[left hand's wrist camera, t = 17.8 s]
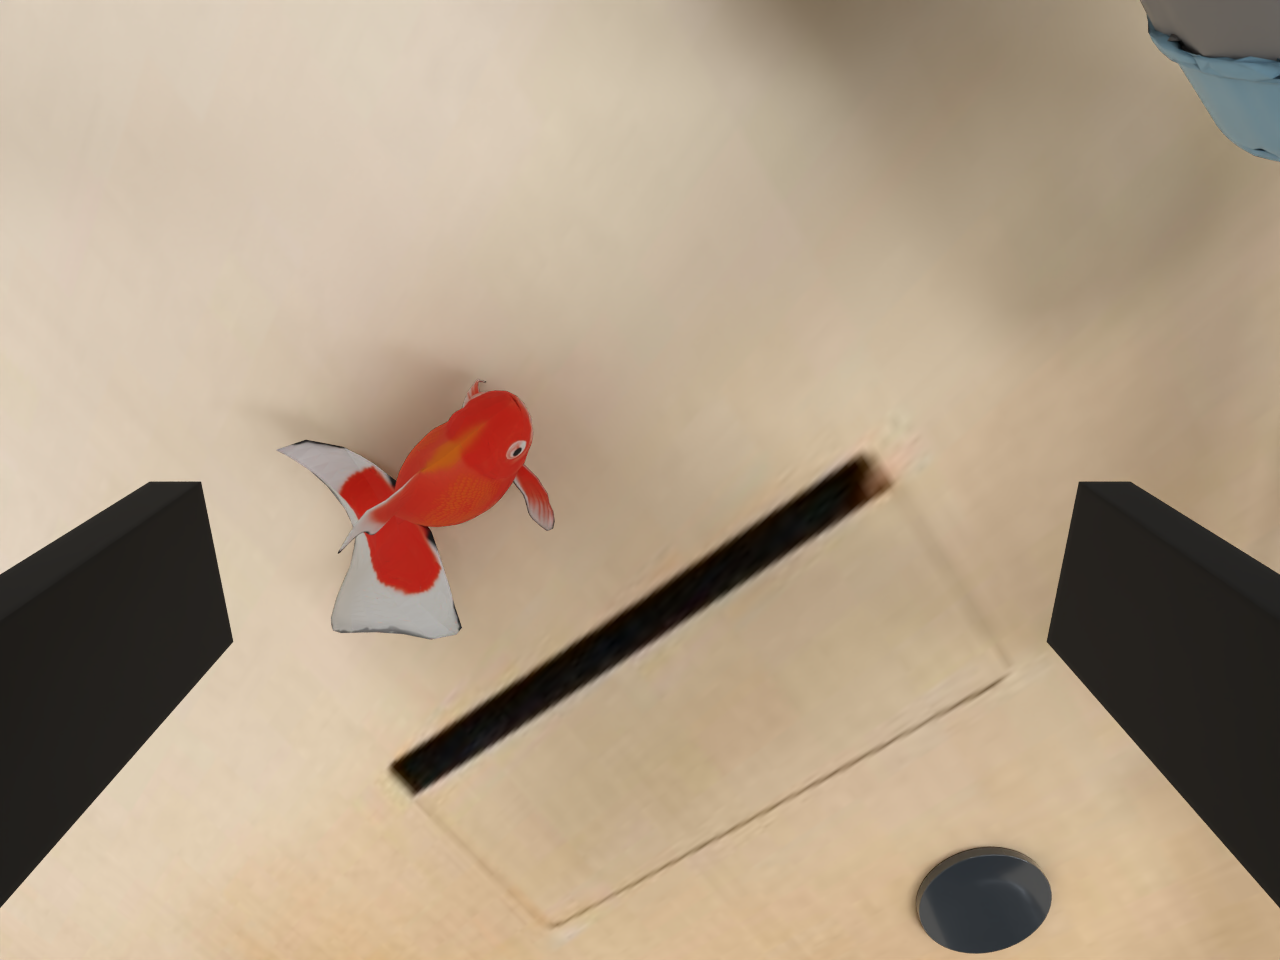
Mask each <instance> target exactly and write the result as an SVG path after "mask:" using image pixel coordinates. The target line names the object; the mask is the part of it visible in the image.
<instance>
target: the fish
mask: <svg viewBox="0 0 1280 960" xmlns="http://www.w3.org/2000/svg"><path fill="white" fill-rule="evenodd" d="M478 382H485V383H486V381H483V380H480V379H477V380H476V382H475V383H474V384H473V385H472V387H471V388H470V389H469V391H468V393H467V395H466V398H465V400H464V403H463V406H462V409H460V410H458V411H456V412H455V413H454V414H453V415H452V416H451V418H450V419H449V421H448V422H446V423H444V424H442V425H440V426H438V427H436V428H435V429H433V430H432V431H430V432H429V433H428V434H427V435H426V436H425V437H424V438H423V439H422V440H421V441H420V442H419V443H418V444H417V445H416V446H415V447H414V448H413V450H412V451H411V452H410V454H409V455H408V457H407V458H406V460H405V462H404V464H403V465H402V467H401V469H400V472H399V474H398V478H397V481H395V480H394V479H393V478H392V477H390V476H389V475H388V474H387V473H385V472H384V471H383V470H381V469H380V468H379V467H378V466H376V465H375V464H374V463H372V462H370V461H369V460H367V459H365V458H364V457H362V456H360V455H358V454H356V453H354V452H352V451H350V450H348V449H346V448H344V447H341V446H336V445H330V444H325V443H320V442H315V441H309V440H304V441H301V442H298V443H295V444H292V445H289V446H286V447H283V448H280V449H277V451H279V452H281V453H283V454H285V455H287V456H288V457H290V458H292V459H293V460H295V461H297V462H298V463H300V464H301V465H303V466H304V467H306V468H307V469H309V470H310V471H311V472H312V473H313V474H315V475H316V476H317V477H318V478H319V479H320V480H321V481H322V482H323V483H324V484H326V485H327V486H328V488H329V489H330V490H331V491H332V493H333V494H334V495H335V497H336V498H337V499H338V500H339V502H340V503H341V504H342V505H343V507H344V508H345V510H346V512H347V514H348V516H349V518H350V520H351V522H352V525H353V528H352V530H351V531H350V533H349V535H348V537H347V538H346V540H345V542H344V543H343V545H342V547H341V548H340V550H339V552H338V553H340V552H341V551H342V550H343V549H344V548H345V547H346V546H347V545H348V544H349V543H350V542H351V541H352V540H353V539H354V538H355V537H356V538H355V545H354V550H353V555H352V560H351V565H350V567H349V570H348V572H347V574H346V576H345V579H344V581H343V583H342V586H341V588H340V590H339V593H338V595H337V598H336V602H335V605H334V609H333V612H332V616H331V625H332V628H333V631H337V632H340V633H358V632H381V633H396V634H406V635H411V636H416V637H421V638H426V639H436V638H441V637H446V636H451V635H456V634H457V633H458V632H459V631H460V629H461V628H462V627H461V624H460V621H459V618H458V615H457V612H456V609H455V605H454V602H453V598H452V594H451V590H450V586H449V583H448V580H447V577H446V574H445V571H444V567H443V565H442V562H441V559H440V556H439V553H438V550H437V547H436V544H435V541H434V538H433V535H432V532H431V530H430V529H429V528H428V526H430V527H441V526H450V525H456V524H460V523H463V522H466V521H468V520H471V519H473V518H475V517H476V516H478V515H480V514H482V513H483V512H485V511H487V510H489V509H490V508H491V507H492V506H494V505H495V504H496V503H497V502H498V501H499V500H500V499H501V497H502V496H503V495H504V494H505V492H506V491H507V490H508V488H509V487H510V485H511V484H512V482H514V483H515V485H516V486H517V487H518V489H519V490H520V491H521V493H522V494H523V496H524V498H525V501H526V505H527V509H528V513H529V515H530V516H531V518H532V519H533V520H534V521H535V522H536V523H538V524H539V525H540V526H541V527H542V528H544V529H545V530H551V529H553V526H554V514H553V510H552V508H551V505H550V503H549V498H548V494H547V492H546V490H545V489H544V487H543V486H542V484H541V482H540V481H539V479H538V478H537V477H536V476H535V475H534V474H533V473H532V472H531V471H530V470H529V469H528V468H527V467H526V466H525V465H524V462H525V459H526V456H527V453H528V450H529V448H530V446H531V443H532V438H533V428H532V420H531V416H530V414H529V412H528V410H527V408H526V406H525V404H524V403H523V402H522V401H521V400H520V399H519V398H518V397H517V396H516V395H514V394H512V393H510V392H508V391H487V392H480V391H479V388H478Z"/></svg>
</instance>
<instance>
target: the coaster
mask: <svg viewBox="0 0 1280 960" xmlns="http://www.w3.org/2000/svg"><path fill="white" fill-rule="evenodd" d="M1051 900H1052V894H1051V888H1050V884H1049V882H1048V880H1047V878H1046V876H1045V874H1044V873H1043V871H1042V870H1041V868H1040V867H1039V866H1038V865H1037V864H1036V863H1035V862H1034V861H1033V860H1032V859H1030V858H1029V857H1027V856H1025V855H1024V854H1022V853H1019V852H1017V851H1014V850H1010V849H1005V848H997V847H986V848H977V849H972V850H968V851H964V852H961V853H959V854H956V855H954V856H952V857H950V858H948V859H946V860H945V861H943V862H941V863H940V864H939V865H937V866H936V867H935V868H934V869H933V870H932V871H931V872H930V873H929V874H928V875H927V876H926V878H925V879H924V881H923V882H922V884H921V886H920V888H919V891H918V895H917V901H916V907H917V913H918V916H919V919H920V922H921V924H922V926H923V928H924V930H925V931H926V933H927V934H928V935H929V936H930V937H931V938H932V939H933V940H934V941H935V942H937V943H938V944H940V945H942V946H944V947H946V948H948V949H951V950H954V951H958V952H963V953H975V954H977V953H989V952H994V951H999V950H1002V949H1005V948H1008V947H1011V946H1013V945H1015V944H1017V943H1019V942H1021V941H1023V940H1024V939H1026V938H1027V937H1028V936H1030V935H1031V934H1032V933H1033V932H1034V931H1036V930H1037V929H1038V927H1039V926H1040V925H1041V924H1042V923H1043V921H1044V920H1045V918H1046V916H1047V914H1048V912H1049V909H1050V906H1051Z"/></svg>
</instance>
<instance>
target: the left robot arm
mask: <svg viewBox="0 0 1280 960" xmlns="http://www.w3.org/2000/svg"><path fill="white" fill-rule="evenodd" d="M1140 1H1141V3H1142V5H1143V7H1144V9H1145V11H1146V13H1147V19H1148V32H1149V34H1150V36H1151V39H1152V41H1153V42H1154V44H1155V45H1156V46H1157V48H1158V49H1159V50H1160V51H1161V52H1162V53H1163V54H1164V55H1166V56H1167V57H1168V58H1169V59H1170V60H1172V61H1174V62H1176V63H1178V64H1179V65H1180V67H1181V69H1182V70H1183V72H1184V73H1185V75H1186V77H1187V78H1188V80H1189V82H1190V83H1191V85H1192V86H1193V88H1194V90H1195V91H1196V93H1197V94H1198V96H1199V98H1200V99H1201V101H1202V102H1203V104H1204V106H1205V107H1206V109H1207V111H1208V112H1209V114H1210V115H1211V117H1212V119H1213V120H1214V122H1215V123H1216V125H1217V126H1218V128H1219V129H1220V130H1221V131H1222V133H1223V134H1224V135H1225V136H1226V137H1227V138H1228V139H1229V140H1230V141H1232V142H1233V143H1234V144H1236V145H1237V146H1238V147H1240V148H1242V149H1243V150H1245V151H1247V152H1249V153H1250V154H1252V155H1254V156H1258V157H1262V158H1265V159H1269V160H1274V161H1279V162H1280V0H1140ZM232 643H233V638H232V633H231V628H230V623H229V618H228V613H227V608H226V603H225V598H224V593H223V588H222V583H221V579H220V574H219V569H218V564H217V559H216V554H215V549H214V544H213V539H212V534H211V529H210V524H209V519H208V514H207V509H206V504H205V499H204V494H203V489H202V484H201V482H148V483H147V484H145V485H144V486H142V487H140V488H139V489H137V490H136V491H134V492H132V493H131V494H129V495H128V496H126V497H124V498H123V499H121V500H120V501H118V502H116V503H115V504H113V505H111V506H110V507H108V508H107V509H105V510H103V511H102V512H100V513H99V514H97V515H95V516H94V517H92V518H91V519H89V520H87V521H86V522H84V523H83V524H81V525H79V526H78V527H76V528H74V529H73V530H71V531H70V532H68V533H66V534H65V535H63V536H62V537H60V538H58V539H57V540H55V541H54V542H52V543H50V544H49V545H47V546H46V547H44V548H42V549H41V550H39V551H37V552H36V553H34V554H33V555H31V556H29V557H28V558H26V559H25V560H23V561H21V562H20V563H18V564H17V565H15V566H13V567H12V568H10V569H9V570H7V571H5V572H4V573H2V574H0V908H1V906H2V905H3V904H4V903H5V902H6V901H7V900H8V898H9V897H10V896H11V895H12V894H13V893H14V892H15V890H16V889H17V888H18V887H19V886H20V885H21V884H22V882H23V881H24V880H25V879H26V878H27V877H28V876H29V874H30V873H31V872H32V871H33V870H34V869H35V868H36V866H37V865H38V864H39V863H40V862H41V861H42V860H43V858H44V857H45V856H46V855H47V854H48V853H49V852H50V850H51V849H52V848H53V847H54V846H55V845H56V844H57V842H58V841H59V840H60V839H61V838H62V837H63V836H64V834H65V833H66V832H67V831H68V830H69V829H70V828H71V826H72V825H73V824H74V823H75V822H76V821H77V820H78V818H79V817H80V816H81V815H82V814H83V813H84V812H85V810H86V809H87V808H88V807H89V806H90V805H91V804H92V802H93V801H94V800H95V799H96V798H97V797H98V796H99V794H100V793H101V792H102V791H103V790H104V789H105V788H106V786H107V785H108V784H109V783H110V782H111V781H112V780H113V778H114V777H115V776H116V775H117V774H118V773H119V772H120V770H121V769H122V768H123V767H124V766H125V765H126V764H127V762H128V761H129V760H130V759H131V758H132V757H133V756H134V754H135V753H136V752H137V751H138V750H139V749H140V748H141V746H142V745H143V744H144V743H145V742H146V741H147V740H148V738H149V737H150V736H151V735H152V734H153V733H154V732H155V730H156V729H157V728H158V727H159V726H160V725H161V724H162V723H163V721H164V720H165V719H166V718H167V717H168V716H169V715H170V713H171V712H172V711H173V710H174V709H175V708H176V707H177V705H178V704H179V703H180V702H181V701H182V700H183V699H184V697H185V696H186V695H187V694H188V693H189V692H190V691H191V689H192V688H193V687H194V686H195V685H196V684H197V683H198V681H199V680H200V679H201V678H202V677H203V676H204V675H205V673H206V672H207V671H208V670H209V669H210V668H211V667H212V665H213V664H214V663H215V662H216V661H217V660H218V659H219V657H220V656H221V655H222V654H223V653H224V652H225V651H226V649H227V648H228V647H229V646H230V645H231V644H232ZM1047 643H1048V644H1049V645H1050V646H1051V647H1052V648H1053V649H1054V651H1055V652H1056V653H1057V654H1058V655H1059V656H1060V657H1061V659H1062V660H1063V661H1064V662H1065V663H1066V664H1067V665H1068V667H1069V668H1070V669H1071V670H1072V671H1073V672H1074V673H1075V675H1076V676H1077V677H1078V678H1079V679H1080V680H1081V681H1082V683H1083V684H1084V685H1085V686H1086V687H1087V688H1088V689H1089V691H1090V692H1091V693H1092V694H1093V695H1094V696H1095V697H1096V699H1097V700H1098V701H1099V702H1100V703H1101V704H1102V705H1103V707H1104V708H1105V709H1106V710H1107V711H1108V712H1109V713H1110V715H1111V716H1112V717H1113V718H1114V719H1115V720H1116V721H1117V723H1118V724H1119V725H1120V726H1121V727H1122V728H1123V729H1124V731H1125V732H1126V733H1127V734H1128V735H1129V736H1130V737H1131V738H1132V740H1133V741H1134V742H1135V743H1136V744H1137V745H1138V746H1139V748H1140V749H1141V750H1142V751H1143V752H1144V753H1145V754H1146V756H1147V757H1148V758H1149V759H1150V760H1151V761H1152V762H1153V764H1154V765H1155V766H1156V767H1157V768H1158V769H1159V770H1160V772H1161V773H1162V774H1163V775H1164V776H1165V777H1166V778H1167V780H1168V781H1169V782H1170V783H1171V784H1172V785H1173V786H1174V788H1175V789H1176V790H1177V791H1178V792H1179V793H1180V794H1181V796H1182V797H1183V798H1184V799H1185V800H1186V801H1187V802H1188V804H1189V805H1190V806H1191V807H1192V808H1193V809H1194V810H1195V812H1196V813H1197V814H1198V815H1199V816H1200V817H1201V818H1202V820H1203V821H1204V822H1205V823H1206V824H1207V825H1208V826H1209V828H1210V829H1211V830H1212V831H1213V832H1214V833H1215V834H1216V836H1217V837H1218V838H1219V839H1220V840H1221V841H1222V842H1223V844H1224V845H1225V846H1226V847H1227V848H1228V849H1229V850H1230V852H1231V853H1232V854H1233V855H1234V856H1235V857H1236V858H1237V860H1238V861H1239V862H1240V863H1241V864H1242V865H1243V866H1244V868H1245V869H1246V870H1247V871H1248V872H1249V873H1250V874H1251V876H1252V877H1253V878H1254V879H1255V880H1256V881H1257V882H1258V884H1259V885H1260V886H1261V887H1262V888H1263V889H1264V890H1265V892H1266V893H1267V894H1268V895H1269V896H1270V897H1271V898H1272V900H1273V901H1274V902H1275V903H1276V904H1277V905H1278V906H1279V908H1280V574H1278V573H1276V572H1275V571H1273V570H1271V569H1270V568H1268V567H1267V566H1265V565H1263V564H1262V563H1260V562H1259V561H1257V560H1255V559H1254V558H1252V557H1251V556H1249V555H1247V554H1246V553H1244V552H1243V551H1241V550H1239V549H1238V548H1236V547H1234V546H1233V545H1231V544H1230V543H1228V542H1226V541H1225V540H1223V539H1222V538H1220V537H1218V536H1217V535H1215V534H1214V533H1212V532H1210V531H1209V530H1207V529H1206V528H1204V527H1202V526H1201V525H1199V524H1197V523H1196V522H1194V521H1193V520H1191V519H1189V518H1188V517H1186V516H1185V515H1183V514H1181V513H1180V512H1178V511H1177V510H1175V509H1173V508H1172V507H1170V506H1169V505H1167V504H1165V503H1164V502H1162V501H1160V500H1159V499H1157V498H1156V497H1154V496H1152V495H1151V494H1149V493H1148V492H1146V491H1144V490H1143V489H1141V488H1140V487H1138V486H1136V485H1135V484H1133V483H1132V482H1079V484H1078V489H1077V494H1076V499H1075V504H1074V509H1073V514H1072V519H1071V524H1070V529H1069V534H1068V539H1067V544H1066V549H1065V554H1064V559H1063V564H1062V569H1061V574H1060V579H1059V583H1058V588H1057V593H1056V598H1055V603H1054V608H1053V613H1052V618H1051V623H1050V628H1049V633H1048V638H1047Z"/></svg>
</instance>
